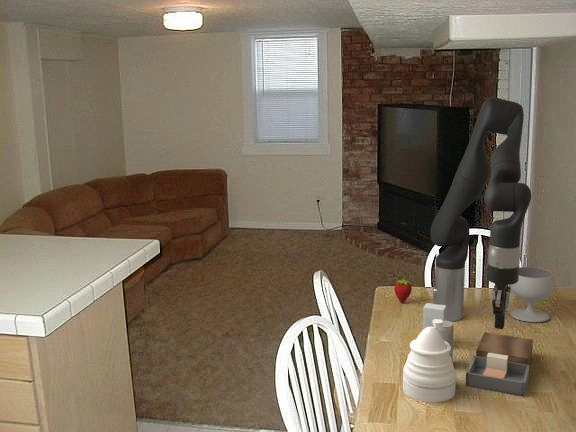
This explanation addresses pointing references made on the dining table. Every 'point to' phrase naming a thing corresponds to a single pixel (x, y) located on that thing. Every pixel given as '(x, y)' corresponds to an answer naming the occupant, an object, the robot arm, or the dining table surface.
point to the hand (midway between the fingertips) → (499, 327)
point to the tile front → (495, 373)
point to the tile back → (497, 362)
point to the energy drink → (447, 334)
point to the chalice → (532, 292)
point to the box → (510, 385)
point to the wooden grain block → (506, 347)
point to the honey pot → (429, 367)
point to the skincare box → (433, 314)
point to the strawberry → (402, 290)
